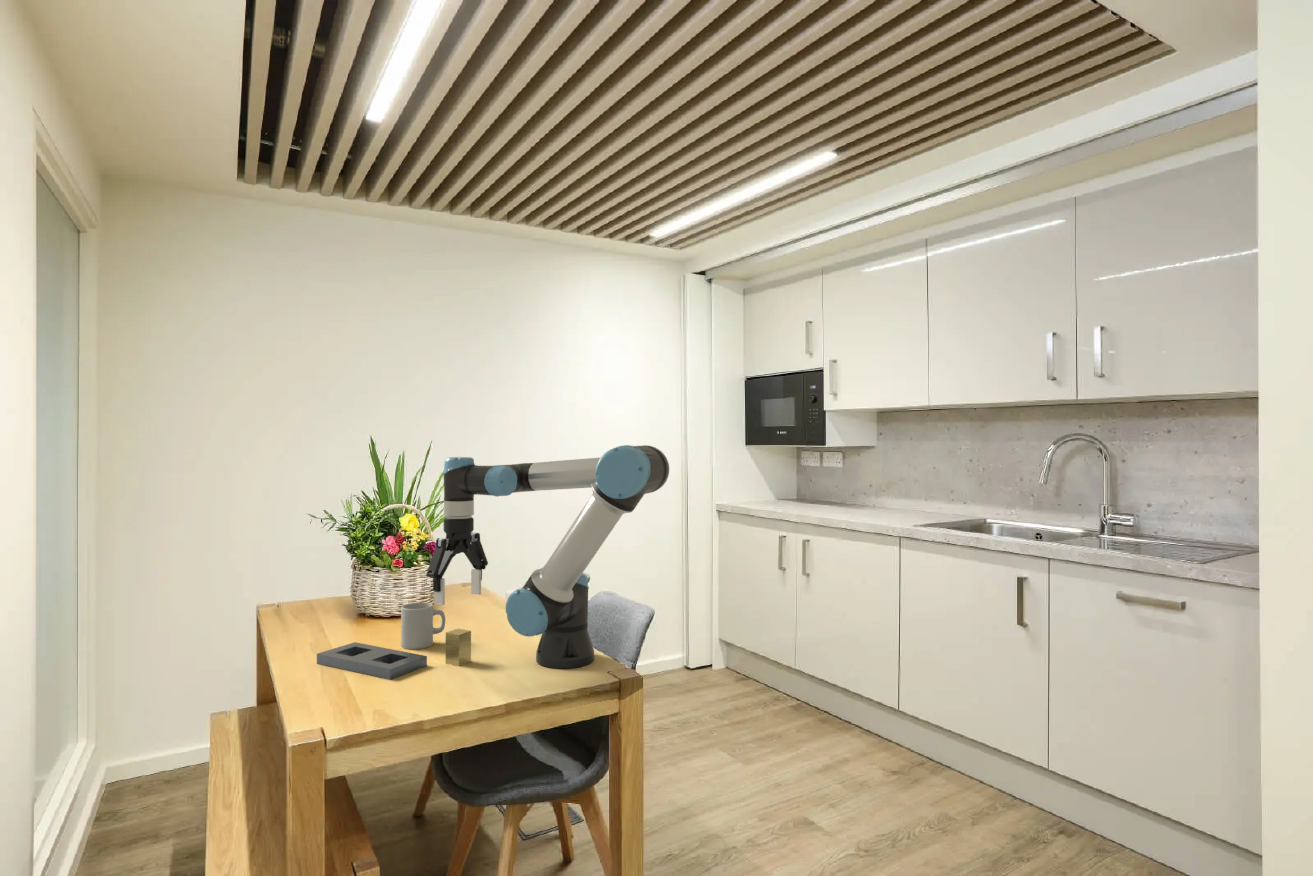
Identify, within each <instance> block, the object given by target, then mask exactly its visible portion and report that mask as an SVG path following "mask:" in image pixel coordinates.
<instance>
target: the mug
mask: <svg viewBox="0 0 1313 876" xmlns="http://www.w3.org/2000/svg"><path fill="white" fill-rule="evenodd" d="M400 613H401V614H400V621H401V622H400V624H401V625H400V646H401V648H403V649H405V650H422V649H426V648H429V647H431V646H433V643H434V635H437V634H440V633H442V632H444V629H445V627H446V615H445V611H443V610H442V609H440V608H439V609H438V608H434V606H433V604H432V603H430V602H410V603H406V604H403V605H402V606H401V608H400ZM435 616H440V617H441V624H440V626H439V627H434V624H433V622H434V617H435ZM428 646H429V647H428ZM421 648H422V649H421Z"/></svg>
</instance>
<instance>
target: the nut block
mask: <svg viewBox="0 0 1313 876" xmlns="http://www.w3.org/2000/svg"><path fill="white" fill-rule="evenodd" d="M471 662H472V630H469V629H461V628H455V629H452V630H450V631H446V632H445V665H450V664H451V665H452V666H455V667H456V666H457V667H460V666H463V665H466V664H468V663H471ZM451 665H450V666H451Z"/></svg>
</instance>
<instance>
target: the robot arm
mask: <svg viewBox="0 0 1313 876" xmlns="http://www.w3.org/2000/svg"><path fill="white" fill-rule="evenodd" d="M443 463H444V466H443V473H442V474H443V475H442V476H443V516H445V518H443V532H444V533H445V538H441V537H438V538H436V539H435V548H434V550H433V554H432V557H431V560H430V563H429V565H428V568H427V571H426V574H425V575H426V577H427V578H430V579H432V591H433V592H434V594H433V595H434V597H433V598H434V599H433V604H434V605H439V606H444V605H446V603H445V600H446V598H445V597H446V596H445V595H446V592H445V590H446V589H445V588H446V587H445V585H446V583H445V581H446V578H444V577H443V576H444V575H445V573H446V571H447V570H448V567H449V566H450V563H451V562H452V560H453V558H454V557H455V556H456V555H459V554H461V553H464V555H465V556H466V558H467V560H468V561H469V562H470V565H472V568H471V573H470V575H471V577H470V580H471V582H470V583H471V584H470V588H471V589H470V592H471V593H470V594H471V595H476V596H477V595H478V596H479V595H482V581H483V570H486V568H487V567H486V566H489V565H488V564H489V562H488V559H487V557H486V556H487V555H486V553H485V551H484V547H483V545H482V542H481V534H480V532H474V527H475V526H474V524H475V523H474V520H475V519H474V517H472V516H474V514H475V495H477V496H478V495H479V496H480V495H481V496H494V497H507V496H510V495H512V494H513V493H514V494H515V493H524V492H525V493H526V492H535V491H536V492H537V491H553V490H555V491H556V490H570V489H571V490H572V489H586V488H587V489H588V488H589V489H590V488H591V490H592V494H591V495H590V497H589V498H588V500H587V502H586V504H585V505H584V506H583V507H582V510H580V512H579V513H578V515H577V517H576V518H575V520H574V521H573V522H572V524H571V526H570V527H569V528H568V530H567V531H566V533H565V535H564V536H563V538H562V539H561V541H560V542H559V543H558V545H557V547H556V548H555V550H554V551H553V553H552V554H551V556H550V558H549V559H548V560H547V562H546V563H545V564H544V566H543V568H537V569H535V570H534V571H533V572H532V573H531V574H530V576H529V577H528V578H527V581H526V582H525V583H524V585H522V587H521V588H517V589H516V590H514V591H513V592H512V593H510V594H509V596H508V598H507V600H506V602H505V613H506V618H507V621H508V623H509V626H511V628H512V629H513V631H515V632H516V633H518V634H519V635H520V636H523V637H528V638H529V637H534V636H540V635H541V636H540V639H539V643H538V645H537V649H536V651H535V655H536V656H535V661H536V663H537V664H538V665H540V666H542V667H547V668H552V669H553V668H554V669H572V668H573V669H574V668H580V667H583V666H587V665H590V664H591V663H593V662H594V660H595V649H594V647H593V646H594V645H593V643H592V639H591V637H590V636H591V635H590V633H589V629H588V625H589V624H588V623H589V588H590V587H589V582H588V581H589V579H588V575H586V574H585V573H584V572H585V570H586V569H587V568H588V566H589V565H590V563H591V561H592V560H593V558H594V557H595V556H596V554H597V553H598V551H599V550H600V548H601V547H602V545H604V543H605V541H606V539H608V536H610V534H611V532H612V531H613V530H614V528H615V526H617V523H618V522H619V521H620V519H621V518H622V516H624V514H627V513H632V512H633V511H634V510H635V509H636V507H637V506H638V504H639V503H640V501H642V499H643V497H644V496H645V495H646V494H652V493H654V492H656V491H658V490H660V489H661V488H663V486H664V485H665V484H666V483H667V481H668V478H669V475H670V464H669V460H668V458H667V456H666V455H665V453H664V452H663V451H661V450H660V449H659V448H658V447H655V446H652V445H647V444H646V445H645V444H644V445H629V444H627V445H619V446H616V447H613V448H611V449H609V450H607V451H606V452H605V453H603V455H602V456H600V457H591V458H589V457H588V458H576V459H575V458H574V459H563V460H552V461H539V462H529V463H528V462H524V463H523V462H522V463H515V464H499V465H498V464H497V465H476V463H475V460H474V458H473V457H471V456H450V457H447V458H446V459H444V462H443Z"/></svg>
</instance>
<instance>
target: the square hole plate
mask: <svg viewBox="0 0 1313 876" xmlns="http://www.w3.org/2000/svg"><path fill="white" fill-rule="evenodd" d="M316 664H317V665H322V666H327V667H331V668H335V669H340V670H344V671H349V672H353V673H354V672H355V673H359V674H364V675H368V676H372V677H377V678H381V679H387V680H392V679H393V680H394V679H395V678H398V677H400V676H403V675H406V674H408V673H409V674H410V673H412V672H414V671H418V670H419V668H420V669H422V668H425V667H427V666H428V656H427V655H425V654H424V655H423V654H418V653H412V652H407V651H403V650H397V649H392V648H388V647H387V648H386V647H383V646H381V647H380V646H376V645H371V644H366V643H360V642H351V643H348V644H345V645H341V646H338V647H334V648H332V649H331V648H330V649H328V650H324V651H321V652H319V653H316Z"/></svg>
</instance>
